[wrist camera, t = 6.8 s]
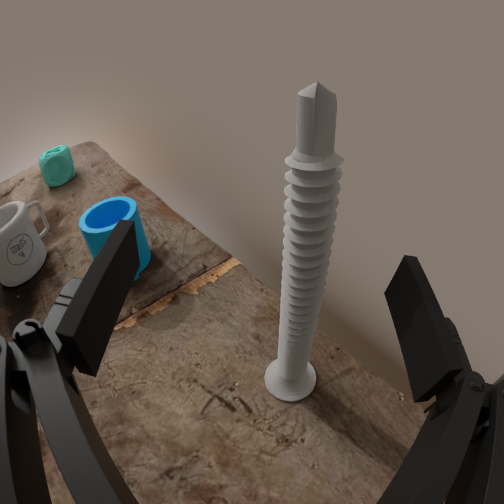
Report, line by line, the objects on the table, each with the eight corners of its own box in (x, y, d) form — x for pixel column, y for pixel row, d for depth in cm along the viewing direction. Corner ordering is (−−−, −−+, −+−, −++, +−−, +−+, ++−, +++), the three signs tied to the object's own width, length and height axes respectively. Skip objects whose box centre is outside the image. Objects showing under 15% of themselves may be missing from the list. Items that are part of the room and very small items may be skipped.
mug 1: (13, 298, 36) (-18, 248, 30) (-7, 275, 40) (-33, 231, 33) (69, 245, 45) (47, 194, 39) (42, 231, 49) (23, 186, 42)
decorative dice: (75, 168, 70) (67, 142, 65) (76, 178, 65) (67, 149, 60) (49, 179, 67) (40, 153, 62) (48, 191, 62) (38, 162, 56)
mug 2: (94, 256, 43) (75, 212, 37) (140, 235, 46) (127, 190, 41) (114, 308, 35) (89, 260, 30) (170, 280, 38) (155, 229, 33)
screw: (238, 88, 10) (275, 71, 14) (257, 394, 27) (273, 351, 30) (380, 102, 9) (375, 81, 12) (308, 407, 26) (320, 363, 29)
